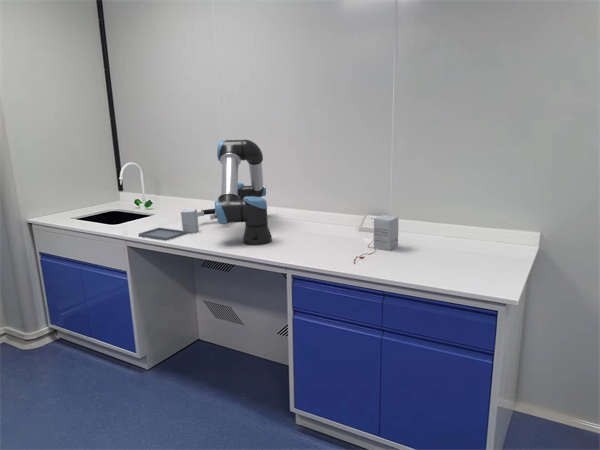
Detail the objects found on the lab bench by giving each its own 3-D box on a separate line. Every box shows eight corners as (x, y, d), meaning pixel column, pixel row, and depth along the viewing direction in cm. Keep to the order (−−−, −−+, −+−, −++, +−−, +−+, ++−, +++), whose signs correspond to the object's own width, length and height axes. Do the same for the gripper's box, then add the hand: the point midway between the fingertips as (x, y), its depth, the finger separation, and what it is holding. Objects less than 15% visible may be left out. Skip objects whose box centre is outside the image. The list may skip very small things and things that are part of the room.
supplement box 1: (199, 230, 251) (197, 209, 248) (195, 233, 244) (193, 211, 240) (187, 230, 251) (185, 209, 248) (182, 233, 244) (180, 211, 241)
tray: (186, 234, 242) (186, 231, 242) (166, 240, 229) (166, 237, 229) (159, 230, 253) (158, 227, 252) (138, 236, 240) (138, 233, 240)
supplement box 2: (381, 243, 212) (382, 214, 208) (398, 246, 206) (399, 216, 203) (372, 248, 205) (373, 218, 202) (389, 251, 200) (390, 220, 196)
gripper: (243, 217, 264) (217, 224, 247) (215, 213, 278) (189, 220, 262) (242, 205, 262) (216, 212, 245) (214, 202, 276) (188, 208, 260)
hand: (202, 216), depth 253 cm, fingers open, 13 cm apart
